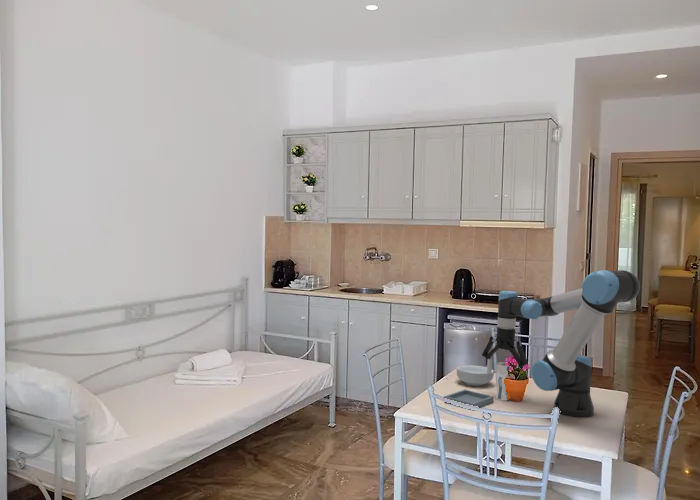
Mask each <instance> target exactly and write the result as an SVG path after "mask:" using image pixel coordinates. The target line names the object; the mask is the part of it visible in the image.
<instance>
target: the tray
mask: <svg viewBox="0 0 700 500" xmlns="http://www.w3.org/2000/svg"><path fill="white" fill-rule="evenodd" d="M494 397H495V396H493V395H489V394H484V393H480V392H478V391H476V392H475V391H473V390H469V389H462V390H459V391H457V392H454V393H451V394H447V395H444V396H443V399H444V398H447V399H450V400H454V401H457V402H461V403H464V404H469V405H473V406H478V407H481V408H483V407H485V405H486V406H488V405H490V403H491V404H494V403H493V402H494V400H495V399H494Z"/></svg>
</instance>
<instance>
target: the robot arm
mask: <svg viewBox="0 0 700 500" xmlns="http://www.w3.org/2000/svg"><path fill="white" fill-rule="evenodd" d="M640 289H641V284H640V281H639V278H638V276H636V275H635V274H634V273H633V272H631V271H628V270H624V269H622V270H620V269H619V270H606V269H602V270H598V271H597V270H596V271H594V272H591V273H589V274H588V275H587V276H586V277H585V278H584V279H583V281H582V284H581V288H578V289H574V290H571V291H566V292H563V293H560V294H555V295H552V296H549V297H544V298H521V297H519V296H518V292H517V291H513V290H502V291H500V292H499V294H498V304H497V305H498V307H497V308H498V310H497V311H498V312H497V324H496V326H497V328H496V337H495V335H492V336H491V335H490V336H489V341H488V343H487V345H486V346H485V347H484V350H483V352H482V353H481V356H482V357H484V358H485V367H487V374H491V372H492V369H493V358H492V356H494V355H495V354H496V353H497V352H498V351H499V350H505V351H509V353H511V355H512V357H513V358H514V360H515V359H516V360H515V362H516V363H517V365H516V368H519V367H520V368H521V369H522V368H523V369H524V366H527V365H528V364H529V362H528V359H527V356H526V353H525V352H524V348H523V342H522V341H521V340H518V341H516V340H515V338H516V329H515V328H516V323H517V317H520V318H524V319H528V320H538V318H540V317H554V316H558V315H559V314H561V313H562V314H563V313H568V312H570V311H575V310H577V311H576V312H575V314H574V316H573V318H572V319H571V321H570V322H569V324H568V326H567V327H566V329H565V331H564V332H563V333H562V336H561V337H560V339H559V340H558V342H557V344H556V346H555V347H554V349H548V351H547V352H546V354H545V355H544V357H543V359H539V360H537V361H535V362H534V363H533V365H532V367H531V376H532V380H533V382H534V384H535V385H536V387H538V389H540V390H542V391H545V392H549V391H551V392H552V391H556V390H558V393H557V395H556V397H555V400H554V403H553V408H554V407H558V408H559V409H560V411H561V413H560V415H561V414H562V415H565V416H570V417H576V418H577V417H578V418H587V417H588V418H589V417H591V416H592V417H593V416H594V413H595V408H594V403H593V401H592V397H591V383H592V382H591V381H592V380H591V379H592V368H593V366H592V362H593V361H592V358H591V357H590V356H586V355H583V354H581V353H582V351H583V350H584V348H585V347H586V345H587V344H588V342H589V340H590V339H591V337H592V335H593V334H594V332H596V329H597V327H598V326H599V324H600V323H601V322H602V320H603V318H604V317H605V315H610V314H611V313H613V311H614V310H615V308H616V307H617V305H618V304H620V303H628V302H631V301H633V300H634V299H636V298H637V297H638V295H639V294H640V293H639V292H640ZM495 342H496V345H494V343H495ZM493 345H494V347H493ZM492 347H493V348H492ZM515 347H516V348H515Z"/></svg>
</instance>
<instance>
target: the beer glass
mask: <svg viewBox="0 0 700 500" xmlns="http://www.w3.org/2000/svg"><path fill="white" fill-rule="evenodd" d="M505 363H507V362H505V361H501V362H500V361H499V362H496V368H495V381H496V394H495V399H496V400H497V401H502V402H508V401H507V400H508V398H507V392H506V386H505V384H504V379H505V378H506V377H507V376H508V371H509V369H510V367H511V366H504V365H505Z"/></svg>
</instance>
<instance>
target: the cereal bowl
mask: <svg viewBox="0 0 700 500" xmlns="http://www.w3.org/2000/svg"><path fill="white" fill-rule="evenodd" d="M494 375H495V371H494V369H493V368H492V372H491V374H487V366H481V365H472V364H471V365H470V364H469V365H459V366H457V367H456V376H457V377H458V379H459V380H460V381H462V382H464V383H465V384H466V385H467V386H472V387H482V386H484V385H486V384H489V383H490V382H492V380H493V379H494Z"/></svg>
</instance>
